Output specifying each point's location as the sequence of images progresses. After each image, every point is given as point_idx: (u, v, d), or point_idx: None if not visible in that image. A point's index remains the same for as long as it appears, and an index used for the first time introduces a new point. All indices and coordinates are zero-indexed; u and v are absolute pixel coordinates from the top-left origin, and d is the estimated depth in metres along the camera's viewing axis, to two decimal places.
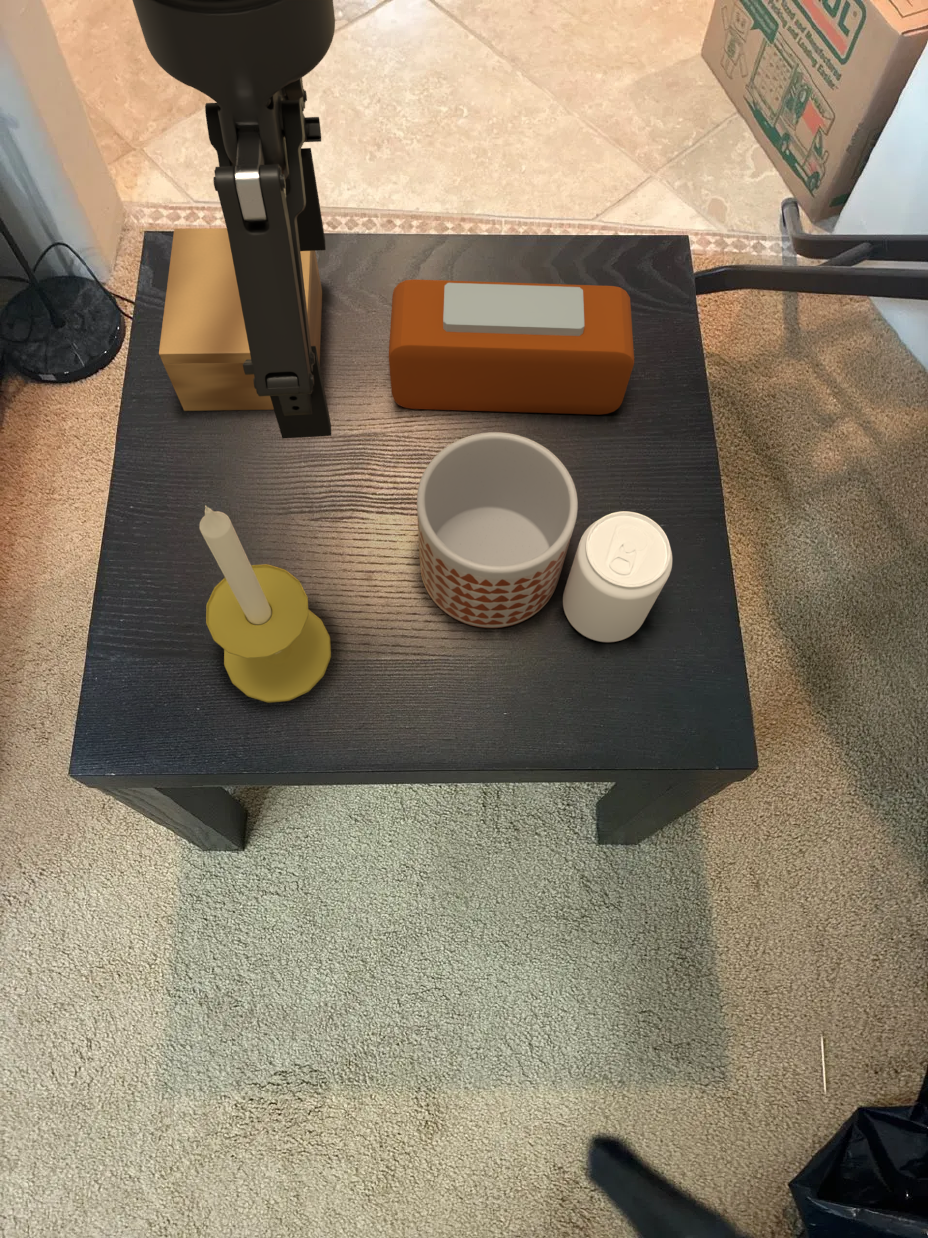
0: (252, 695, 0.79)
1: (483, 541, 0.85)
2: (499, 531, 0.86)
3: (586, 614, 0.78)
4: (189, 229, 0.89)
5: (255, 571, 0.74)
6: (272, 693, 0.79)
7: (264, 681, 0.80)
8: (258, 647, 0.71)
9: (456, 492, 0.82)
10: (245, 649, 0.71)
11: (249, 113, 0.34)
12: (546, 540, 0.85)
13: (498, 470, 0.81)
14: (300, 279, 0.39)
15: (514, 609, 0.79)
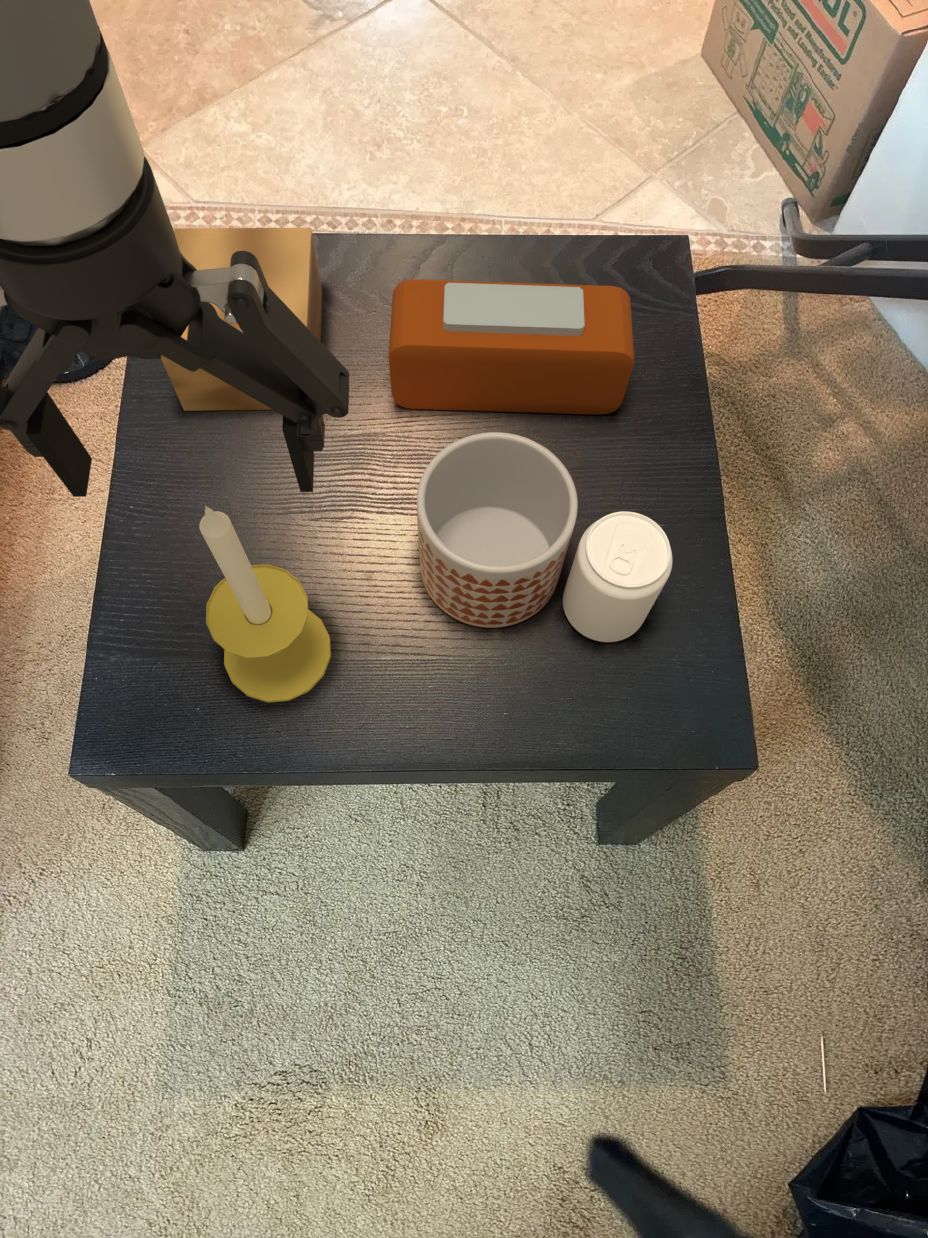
0: (252, 695, 0.79)
1: (483, 541, 0.85)
2: (499, 531, 0.86)
3: (586, 614, 0.78)
4: (189, 229, 0.89)
5: (255, 571, 0.74)
6: (272, 693, 0.79)
7: (264, 681, 0.80)
8: (258, 647, 0.71)
9: (456, 492, 0.82)
10: (245, 649, 0.71)
11: (181, 260, 0.38)
12: (547, 540, 0.85)
13: (498, 470, 0.81)
14: None
15: (514, 609, 0.79)
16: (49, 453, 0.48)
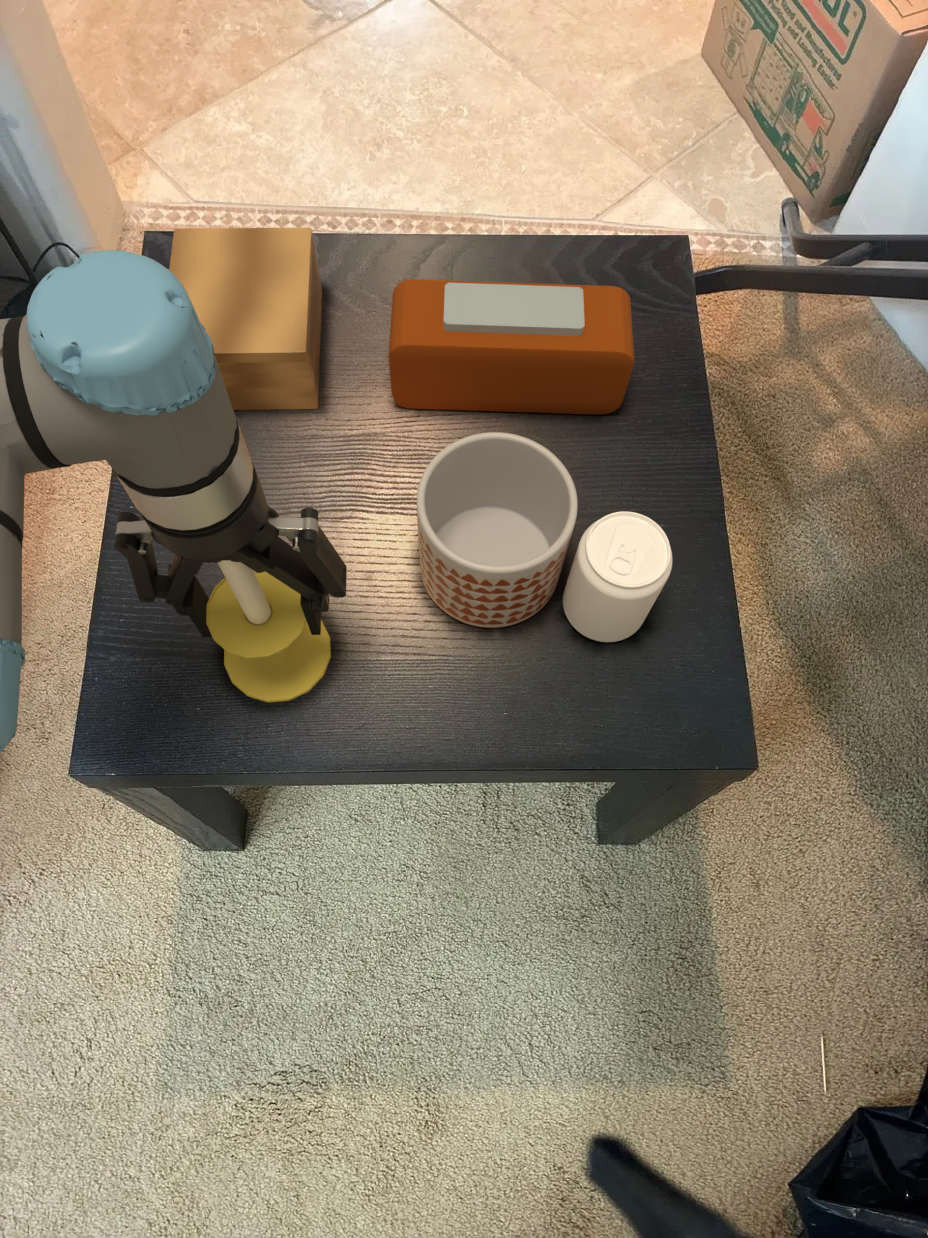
0: (252, 695, 0.79)
1: (483, 541, 0.85)
2: (499, 531, 0.86)
3: (586, 614, 0.78)
4: (189, 229, 0.89)
5: None
6: (272, 693, 0.79)
7: (264, 681, 0.80)
8: (258, 647, 0.71)
9: (456, 492, 0.82)
10: (246, 649, 0.71)
11: (268, 511, 0.58)
12: (547, 539, 0.85)
13: (498, 470, 0.81)
14: (297, 551, 0.65)
15: (514, 609, 0.79)
16: (195, 616, 0.70)
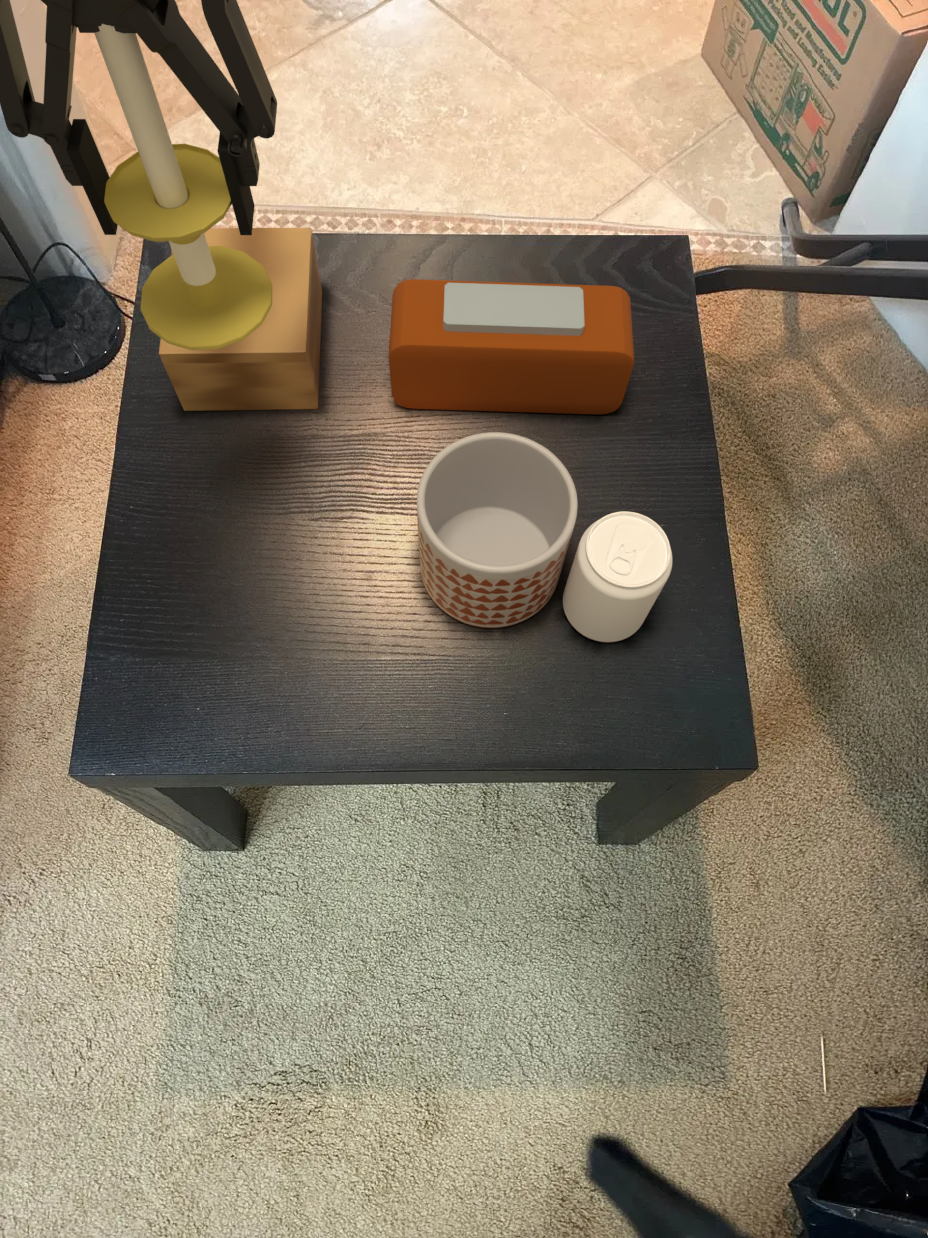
0: (173, 340, 0.64)
1: (483, 541, 0.85)
2: (499, 531, 0.86)
3: (586, 614, 0.78)
4: None
5: None
6: (197, 338, 0.64)
7: (189, 325, 0.65)
8: (169, 230, 0.56)
9: (456, 492, 0.82)
10: (153, 232, 0.56)
11: None
12: (547, 540, 0.85)
13: (498, 470, 0.81)
14: (208, 56, 0.50)
15: (514, 609, 0.79)
16: (85, 176, 0.55)
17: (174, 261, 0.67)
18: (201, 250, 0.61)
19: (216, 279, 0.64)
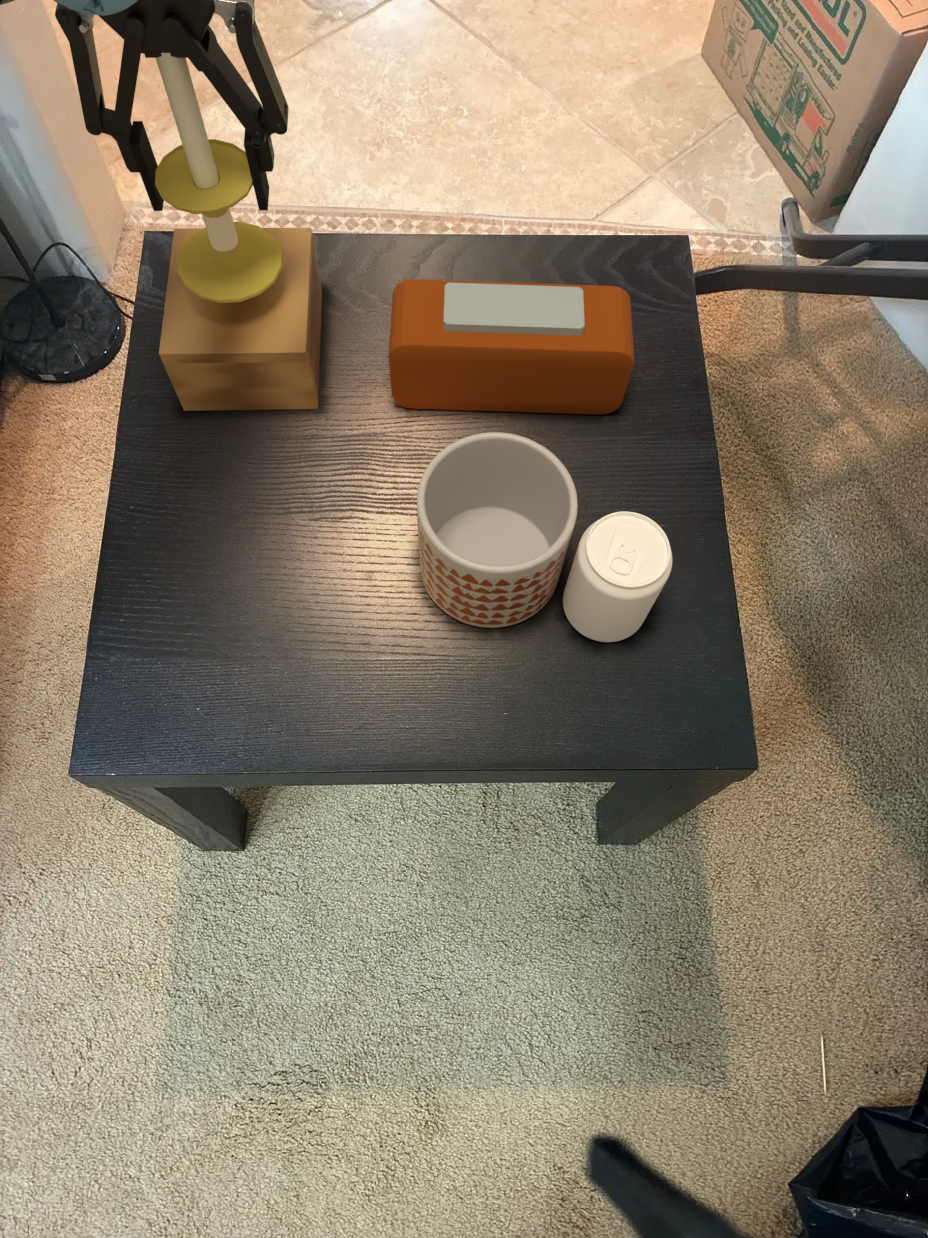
0: (204, 295, 0.81)
1: (483, 541, 0.85)
2: (499, 531, 0.86)
3: (586, 614, 0.78)
4: (189, 229, 0.89)
5: None
6: (224, 293, 0.81)
7: (217, 283, 0.82)
8: (205, 205, 0.73)
9: (456, 492, 0.82)
10: (193, 207, 0.73)
11: None
12: (547, 540, 0.85)
13: (498, 470, 0.81)
14: (238, 73, 0.67)
15: (514, 609, 0.79)
16: (142, 164, 0.72)
17: (203, 234, 0.84)
18: (227, 222, 0.78)
19: (238, 246, 0.81)
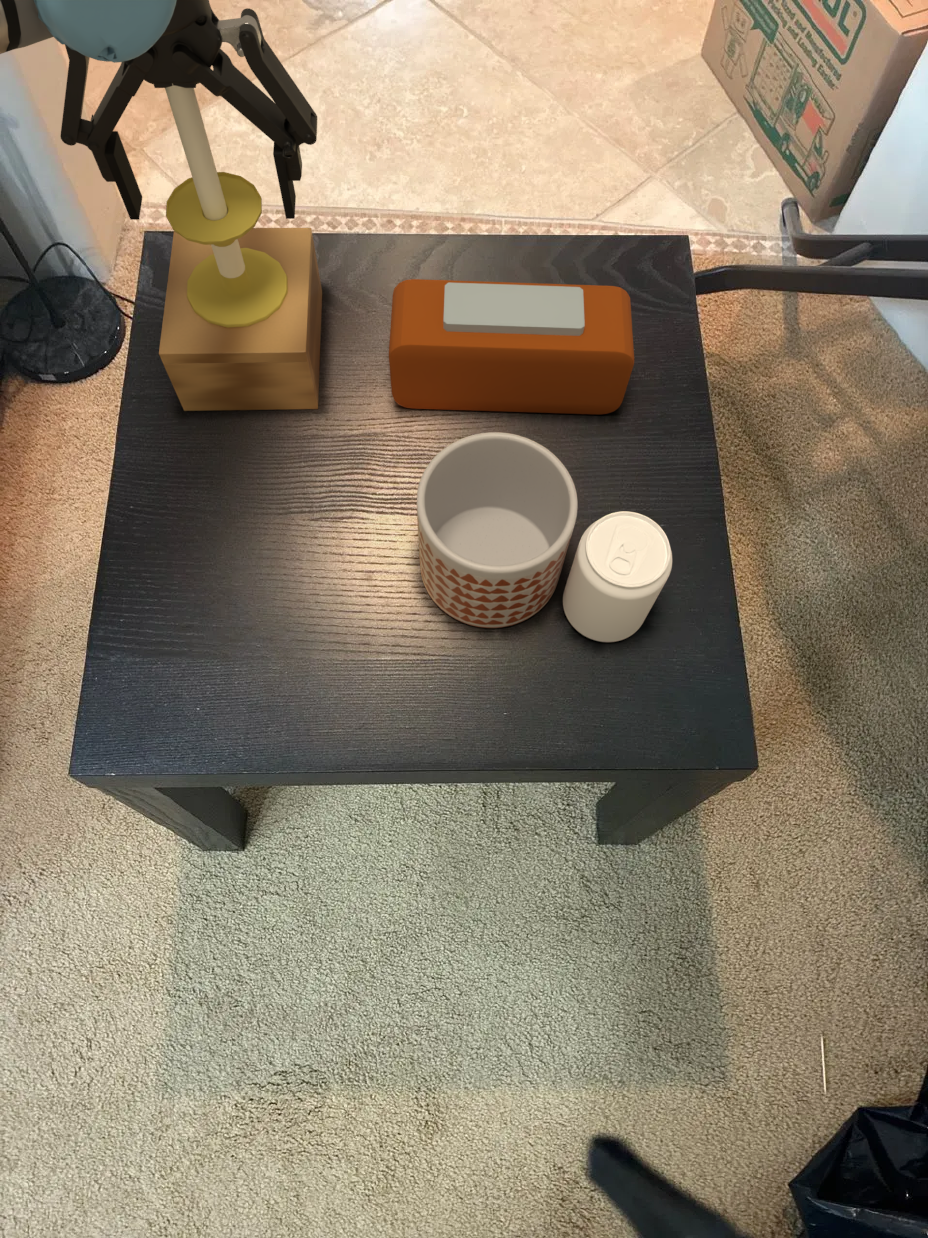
0: (212, 319, 0.84)
1: (483, 541, 0.85)
2: (499, 531, 0.86)
3: (586, 614, 0.78)
4: None
5: None
6: (231, 318, 0.84)
7: (224, 309, 0.85)
8: (214, 236, 0.76)
9: (456, 492, 0.82)
10: (202, 237, 0.76)
11: (210, 10, 0.62)
12: (547, 540, 0.85)
13: (498, 470, 0.81)
14: (258, 89, 0.69)
15: (514, 609, 0.79)
16: (118, 174, 0.72)
17: (211, 260, 0.87)
18: (235, 251, 0.81)
19: (245, 273, 0.84)
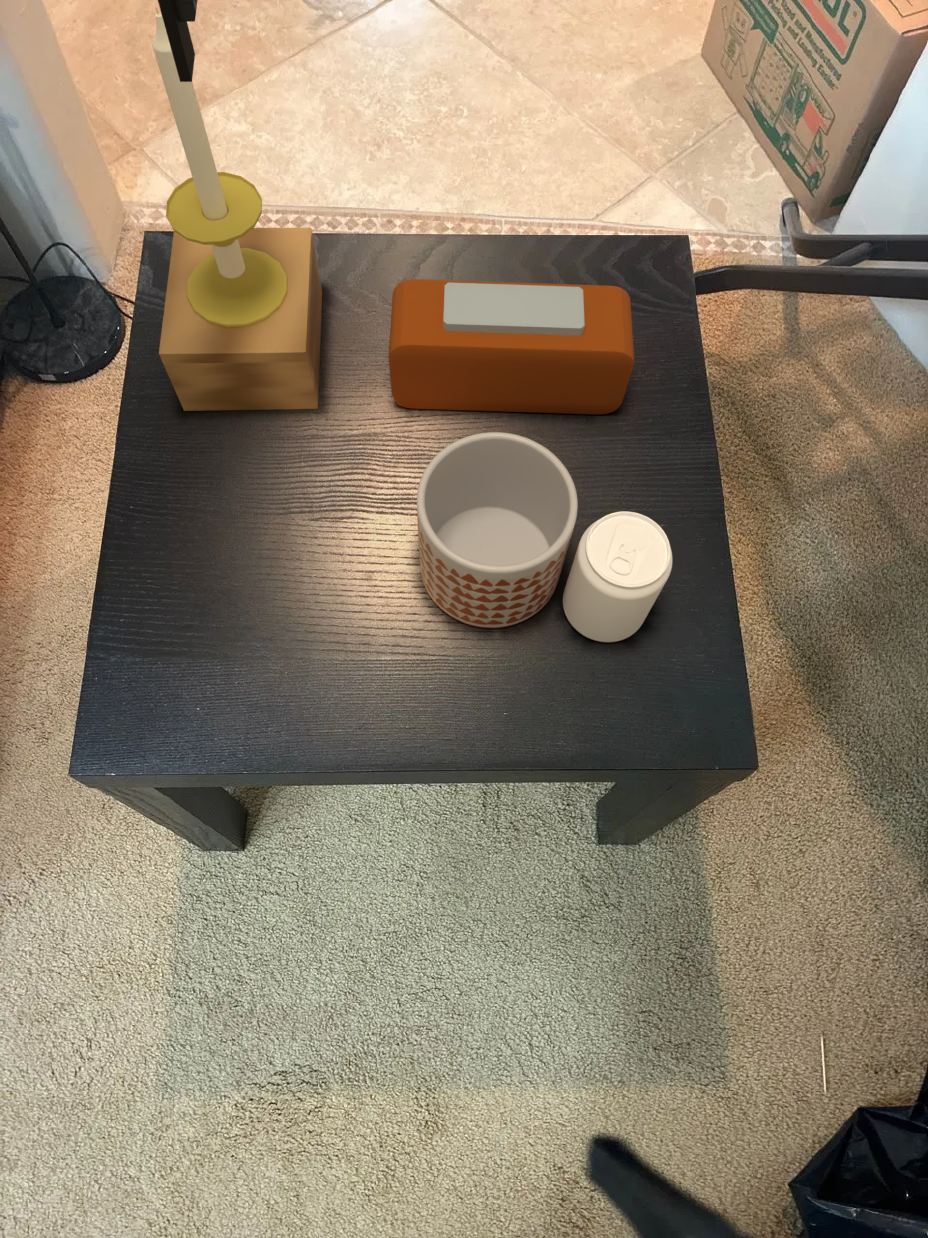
0: (212, 319, 0.84)
1: (483, 541, 0.85)
2: (499, 531, 0.86)
3: (586, 614, 0.78)
4: None
5: None
6: (231, 318, 0.84)
7: (224, 309, 0.85)
8: (214, 236, 0.76)
9: (456, 492, 0.82)
10: (202, 237, 0.76)
11: None
12: (547, 540, 0.85)
13: (498, 470, 0.81)
14: None
15: (514, 609, 0.79)
16: None
17: (211, 260, 0.87)
18: (235, 251, 0.81)
19: (245, 273, 0.84)
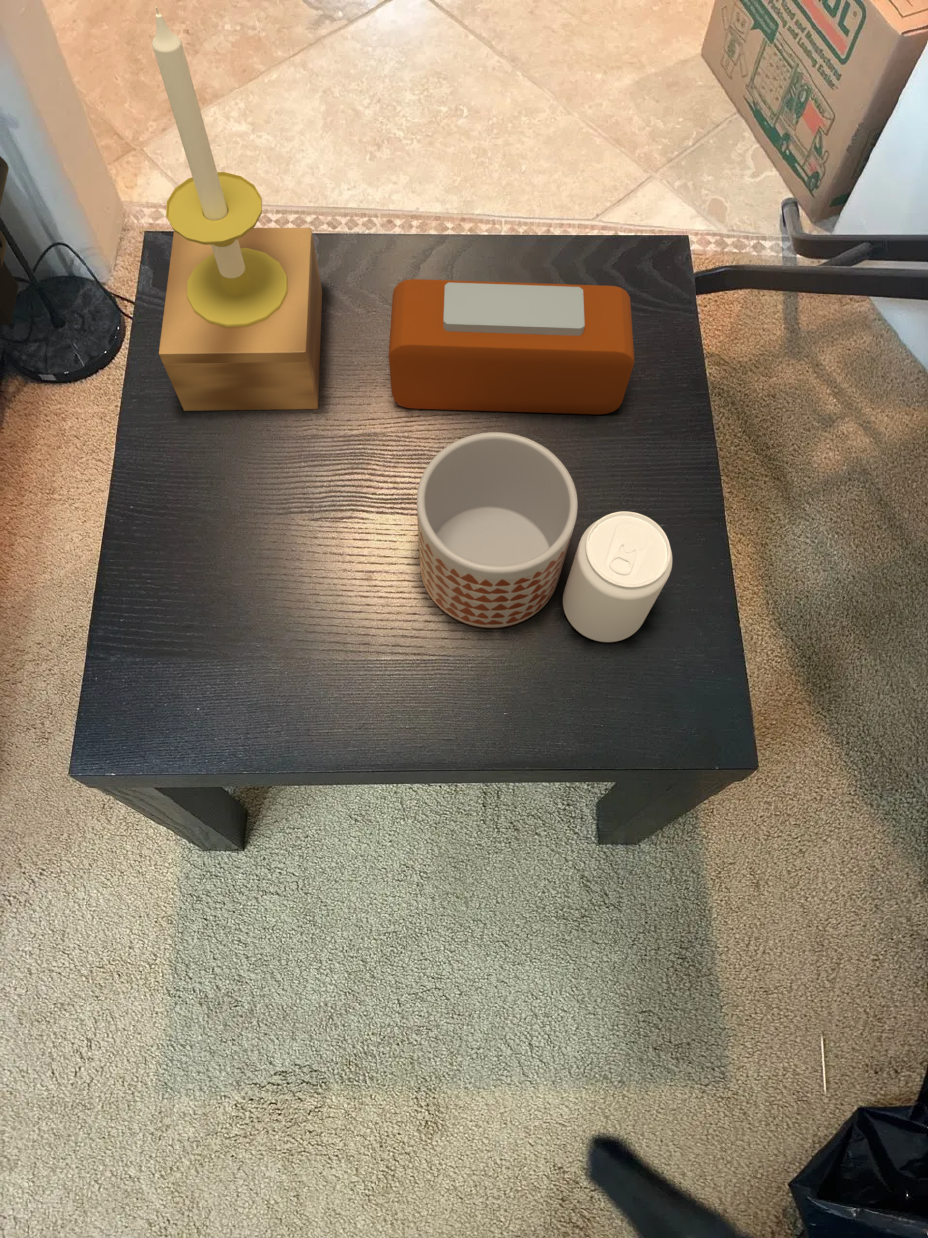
0: (212, 319, 0.84)
1: (483, 541, 0.85)
2: (499, 531, 0.86)
3: (586, 614, 0.78)
4: None
5: None
6: (231, 318, 0.84)
7: (224, 309, 0.85)
8: (214, 236, 0.76)
9: (456, 492, 0.82)
10: (202, 237, 0.76)
11: None
12: (547, 540, 0.85)
13: (498, 470, 0.81)
14: None
15: (514, 609, 0.79)
16: None
17: (211, 260, 0.87)
18: (235, 251, 0.81)
19: (245, 273, 0.84)
